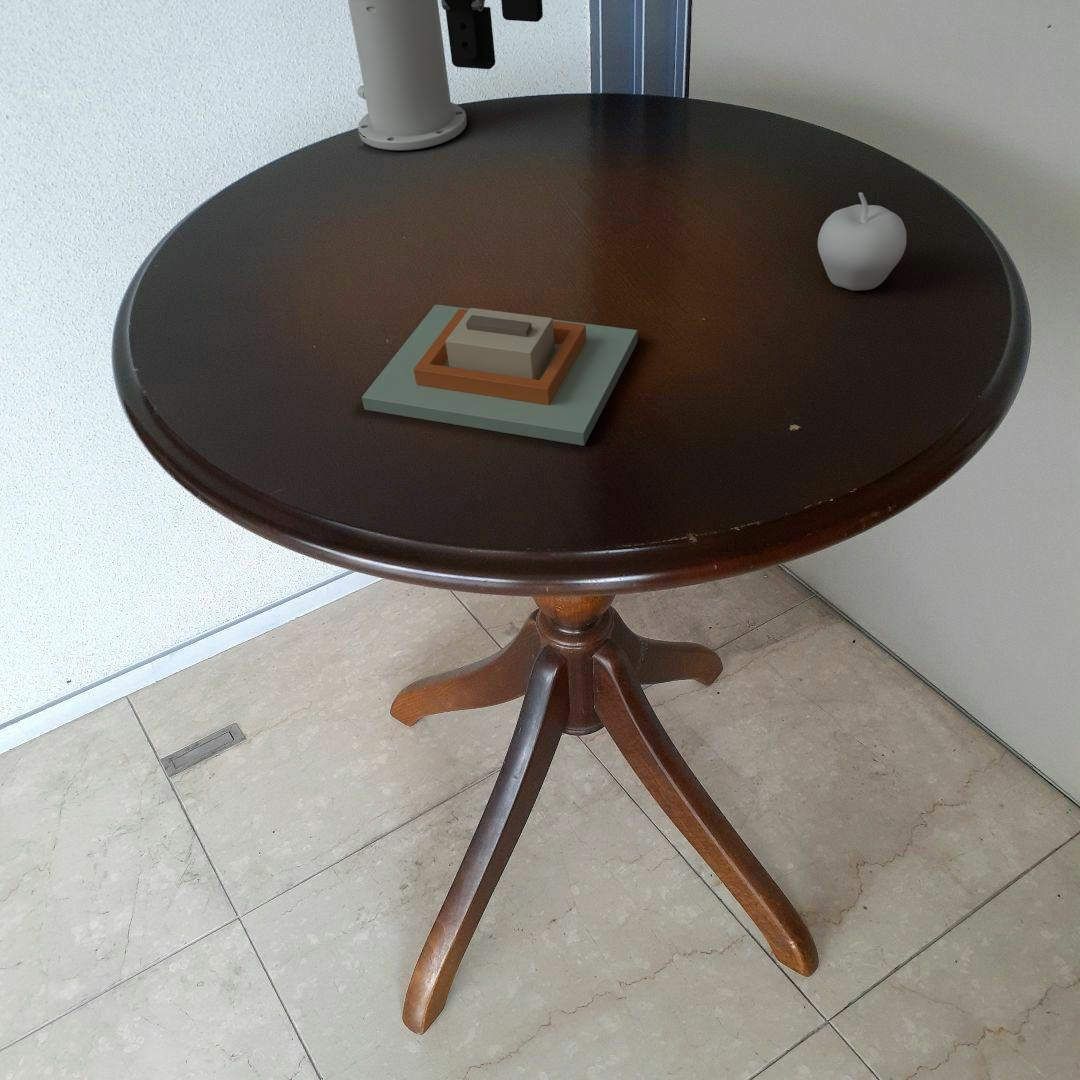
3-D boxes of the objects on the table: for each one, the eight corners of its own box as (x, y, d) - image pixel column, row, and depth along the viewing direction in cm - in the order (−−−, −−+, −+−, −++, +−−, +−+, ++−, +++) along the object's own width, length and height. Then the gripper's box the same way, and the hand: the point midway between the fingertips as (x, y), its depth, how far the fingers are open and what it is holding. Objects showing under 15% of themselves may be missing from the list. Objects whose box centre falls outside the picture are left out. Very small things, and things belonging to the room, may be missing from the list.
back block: (450, 373, 80) (443, 334, 78) (474, 339, 84) (469, 300, 81) (533, 386, 78) (529, 345, 76) (555, 350, 82) (552, 311, 79)
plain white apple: (804, 264, 91) (814, 177, 85) (885, 257, 91) (900, 169, 85) (823, 305, 86) (835, 215, 80) (909, 298, 86) (927, 207, 80)
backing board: (364, 409, 80) (357, 381, 78) (437, 316, 89) (432, 288, 87) (584, 446, 74) (582, 416, 73) (637, 342, 84) (637, 313, 82)
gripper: (473, -263, 72) (496, 1, 84) (358, -214, 61) (404, 83, 73) (574, -266, 70) (583, 6, 82) (475, -215, 58) (502, 91, 70)
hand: (499, 42), depth 77 cm, fingers open, 9 cm apart
